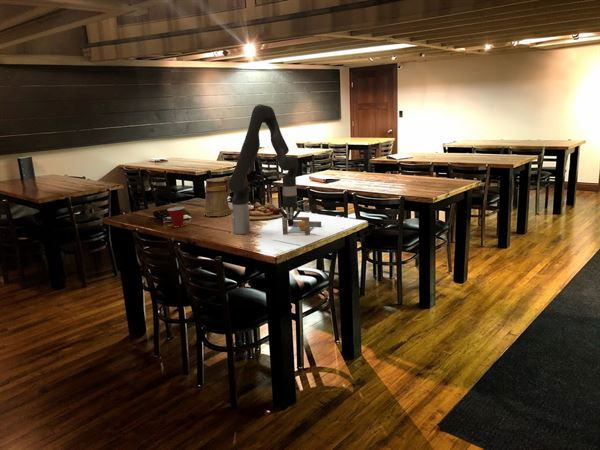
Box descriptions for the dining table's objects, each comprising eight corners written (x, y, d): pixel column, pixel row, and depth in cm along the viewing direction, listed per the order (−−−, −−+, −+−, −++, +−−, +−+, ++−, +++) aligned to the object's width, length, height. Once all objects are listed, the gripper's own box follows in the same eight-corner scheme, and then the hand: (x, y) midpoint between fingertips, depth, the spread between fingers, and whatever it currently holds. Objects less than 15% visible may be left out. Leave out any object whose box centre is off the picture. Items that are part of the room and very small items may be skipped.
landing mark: (286, 232, 285) (286, 232, 285) (293, 227, 297) (293, 227, 297) (308, 233, 281) (308, 233, 281) (314, 227, 293) (314, 227, 293)
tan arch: (308, 235, 277) (307, 218, 275) (282, 234, 281) (281, 217, 279) (310, 233, 280) (309, 217, 278) (284, 233, 284) (283, 216, 282)
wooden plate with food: (241, 223, 314) (240, 211, 312) (234, 213, 344) (233, 201, 342) (290, 219, 322) (290, 207, 320) (279, 210, 352) (279, 198, 350)
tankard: (198, 216, 341) (194, 180, 335) (221, 209, 359) (218, 175, 354) (218, 218, 331) (214, 181, 325) (241, 211, 350) (238, 176, 344)
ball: (297, 231, 286) (297, 221, 285) (299, 229, 292) (299, 218, 291) (307, 231, 285) (307, 221, 284) (309, 229, 291) (309, 219, 290)
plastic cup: (175, 224, 320) (173, 205, 318) (190, 224, 317) (188, 206, 314) (165, 228, 311) (163, 209, 308) (180, 228, 307) (178, 209, 304)
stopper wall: (288, 226, 299) (287, 221, 298) (289, 225, 301) (288, 220, 300) (320, 227, 294) (320, 222, 293) (321, 226, 296) (321, 221, 295)
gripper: (303, 193, 269) (304, 224, 273) (280, 192, 272) (281, 223, 277) (299, 195, 262) (300, 227, 266) (275, 195, 265) (276, 226, 270)
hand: (290, 225), depth 271 cm, fingers closed
